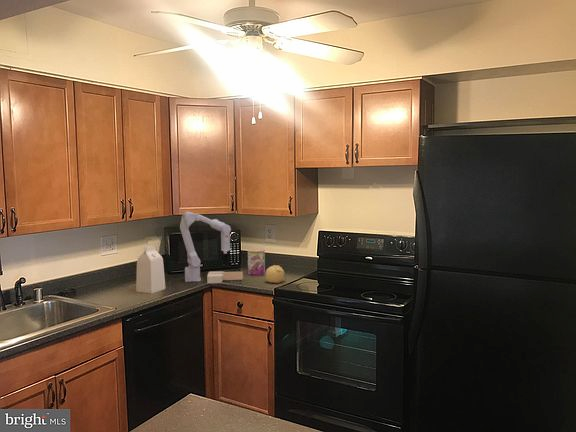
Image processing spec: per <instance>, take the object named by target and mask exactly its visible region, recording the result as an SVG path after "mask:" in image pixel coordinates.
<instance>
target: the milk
mask: <svg viewBox="0 0 576 432" xmlns="http://www.w3.org/2000/svg"><path fill="white" fill-rule="evenodd" d="M155 248H156V247H155V246H154V245H149V246H145V247H144V250H143V253H142V254H141V255H140V256H139V257H138V258H137V260H136V285H135V286H136V287H135V288H136V289H135V292H137V293H138V292H139V293H145V294H154V293H157V292H160V291H163V290H165V289H166V279H165V267H164V258H163V256H162V255H161V254H160V253H159V252H158V251H157V250H156V249H155Z"/></svg>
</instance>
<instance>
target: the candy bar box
mask: <svg viewBox="0 0 576 432" xmlns="http://www.w3.org/2000/svg"><path fill="white" fill-rule="evenodd" d="M265 252H266V251H265V249H248V250H247V275H248V276H264V275H265V273H266V268H265V267H266V258H265V256H266V253H265Z"/></svg>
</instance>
